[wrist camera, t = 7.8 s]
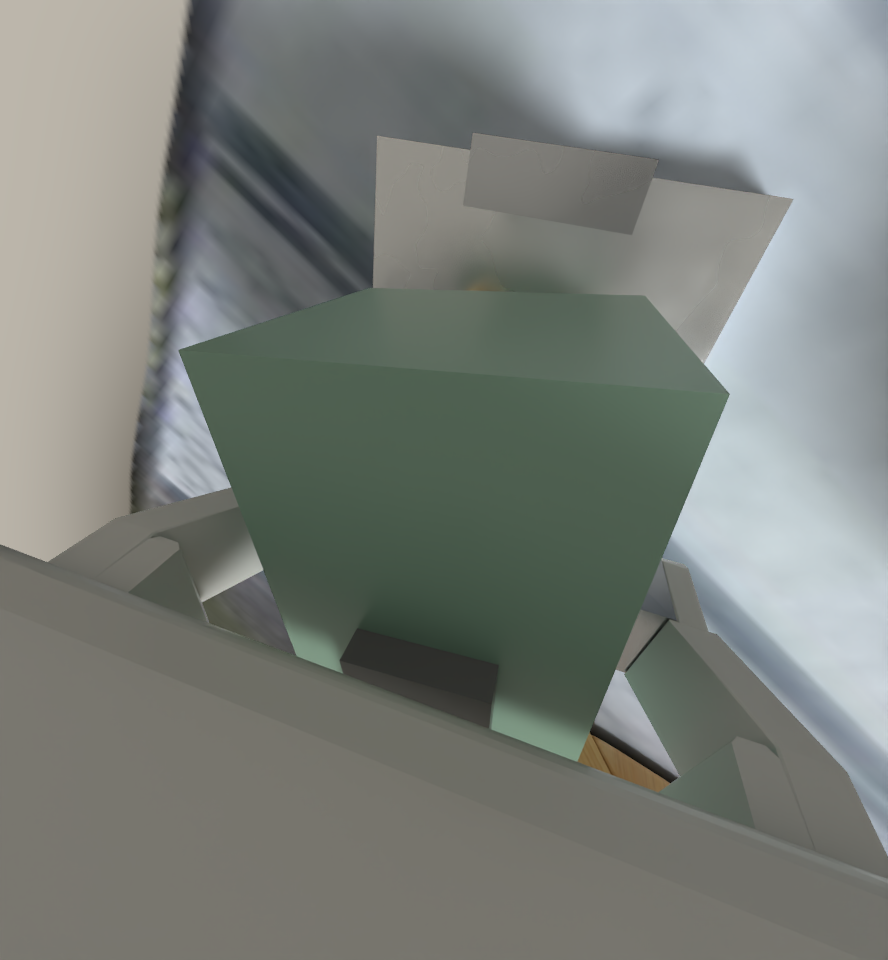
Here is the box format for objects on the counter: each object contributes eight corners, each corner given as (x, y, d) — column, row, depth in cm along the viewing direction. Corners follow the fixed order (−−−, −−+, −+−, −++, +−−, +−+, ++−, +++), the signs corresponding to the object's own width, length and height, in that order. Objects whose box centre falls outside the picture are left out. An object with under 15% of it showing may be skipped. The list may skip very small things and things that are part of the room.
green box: (369, 287, 8) (128, 366, 4) (644, 295, 7) (758, 426, 3) (400, 576, 13) (310, 755, 9) (565, 612, 12) (557, 843, 8)
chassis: (394, 142, 11) (284, 98, 7) (771, 200, 10) (919, 188, 5) (376, 511, 19) (321, 592, 15) (578, 572, 18) (579, 680, 14)
